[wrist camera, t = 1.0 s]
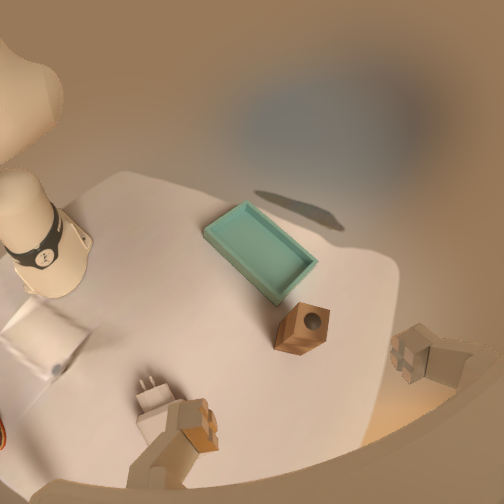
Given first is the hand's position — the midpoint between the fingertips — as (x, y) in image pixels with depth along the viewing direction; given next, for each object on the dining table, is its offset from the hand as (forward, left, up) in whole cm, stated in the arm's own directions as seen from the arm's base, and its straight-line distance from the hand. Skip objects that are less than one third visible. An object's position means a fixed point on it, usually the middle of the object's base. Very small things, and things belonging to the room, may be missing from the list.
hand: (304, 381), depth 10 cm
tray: (-15, +24, -36) cm, 46 cm away
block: (+1, +15, -36) cm, 39 cm away
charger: (-4, -10, -36) cm, 38 cm away
